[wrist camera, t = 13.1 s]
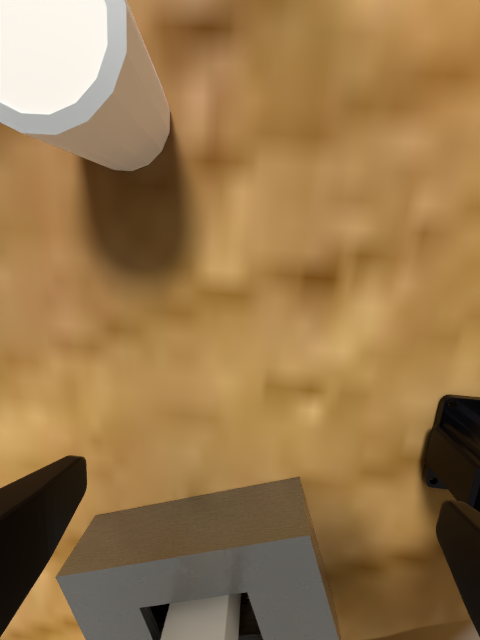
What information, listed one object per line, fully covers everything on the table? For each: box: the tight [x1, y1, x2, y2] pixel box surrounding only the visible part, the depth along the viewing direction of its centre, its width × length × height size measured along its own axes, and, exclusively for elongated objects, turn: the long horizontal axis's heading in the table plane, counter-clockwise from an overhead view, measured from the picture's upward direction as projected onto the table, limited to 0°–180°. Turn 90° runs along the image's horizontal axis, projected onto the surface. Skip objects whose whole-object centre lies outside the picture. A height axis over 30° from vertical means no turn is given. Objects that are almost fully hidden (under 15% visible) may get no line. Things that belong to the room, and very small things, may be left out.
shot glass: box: [0, 0, 170, 171], centre depth 14 cm, size 7×7×7 cm
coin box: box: [56, 477, 341, 640], centre depth 21 cm, size 16×11×4 cm
